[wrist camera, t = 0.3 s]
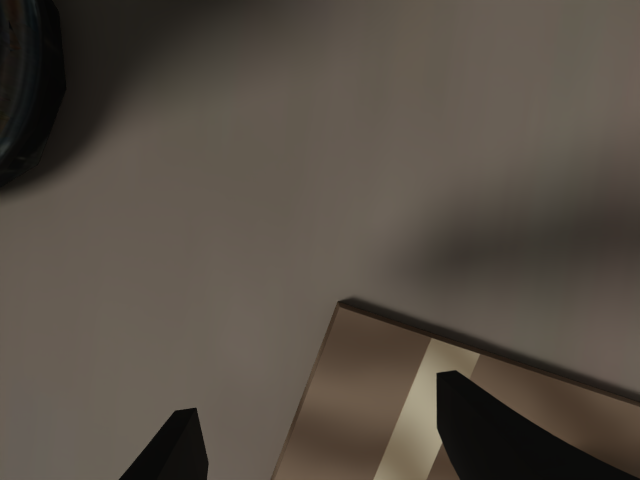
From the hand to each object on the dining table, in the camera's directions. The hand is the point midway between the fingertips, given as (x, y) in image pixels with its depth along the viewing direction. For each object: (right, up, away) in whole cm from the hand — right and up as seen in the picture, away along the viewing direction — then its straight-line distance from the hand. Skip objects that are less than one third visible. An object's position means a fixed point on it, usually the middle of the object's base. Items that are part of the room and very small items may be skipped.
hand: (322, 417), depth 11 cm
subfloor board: (+9, -10, +13) cm, 19 cm away
